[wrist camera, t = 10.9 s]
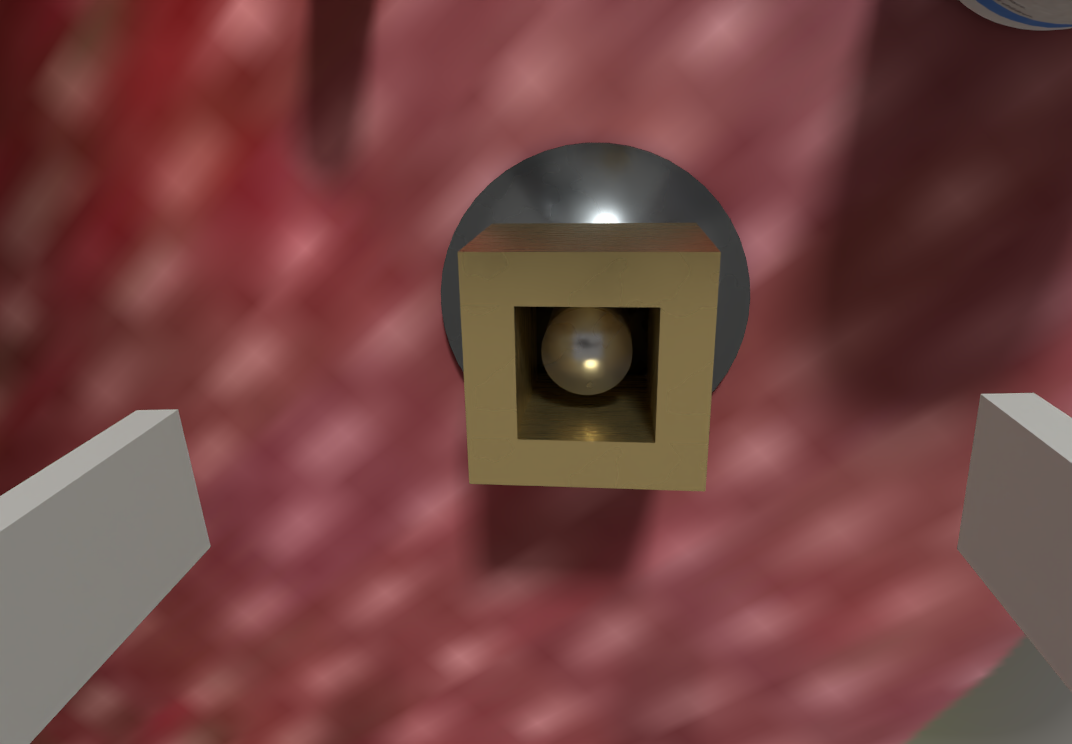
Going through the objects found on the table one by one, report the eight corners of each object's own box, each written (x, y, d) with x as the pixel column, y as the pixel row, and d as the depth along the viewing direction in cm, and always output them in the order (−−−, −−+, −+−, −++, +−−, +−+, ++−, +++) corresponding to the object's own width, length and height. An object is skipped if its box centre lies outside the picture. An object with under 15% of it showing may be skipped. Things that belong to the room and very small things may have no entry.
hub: (385, 254, 29) (320, 292, 23) (645, 74, 26) (656, 58, 20) (548, 485, 32) (532, 580, 25) (802, 347, 29) (859, 413, 22)
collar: (498, 410, 28) (469, 483, 22) (492, 223, 25) (457, 252, 20) (686, 414, 27) (705, 491, 21) (696, 222, 25) (720, 252, 19)
